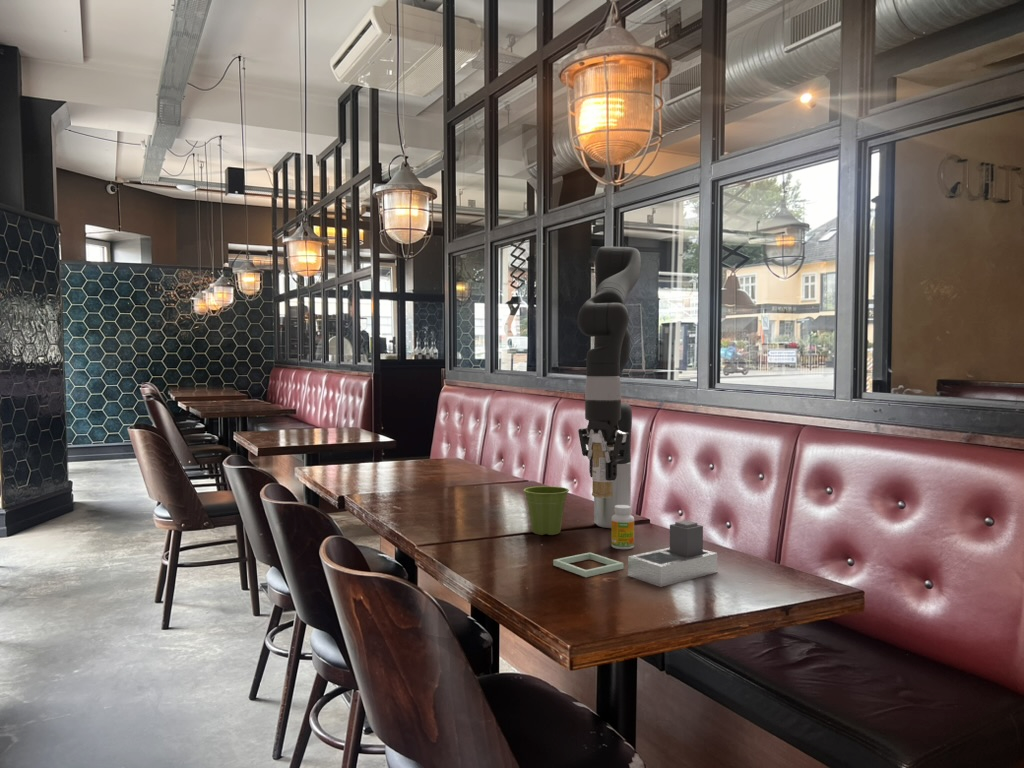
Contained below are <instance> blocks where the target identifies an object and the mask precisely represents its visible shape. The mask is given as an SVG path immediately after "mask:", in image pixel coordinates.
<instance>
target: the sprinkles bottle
mask: <svg viewBox="0 0 1024 768" xmlns="http://www.w3.org/2000/svg"><path fill="white" fill-rule="evenodd" d="M592 442H593V464H592V466H593V467H592V477H591V479H592V492H591V495H592V497H593V498H594V497H597V498H608V497H612V496H613V480H612V481H608V480H606V463H607V461H606V457H605V453H604V452H603V451H602V446H601V443H602V442H603V441H602V439H601V438H600V435H599V434H598V433H594V434H592ZM608 447H613V444H612V445H608ZM610 454H611V456H612V451H610Z"/></svg>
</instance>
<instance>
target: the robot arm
mask: <svg viewBox="0 0 1024 768" xmlns="http://www.w3.org/2000/svg"><path fill="white" fill-rule="evenodd" d="M641 262H642V258H641V253H640V251H639V249H637V248H635V247H631V246H630V247H629V246H600V247H599V248H598V249H597V251H596V253H595V260H594V276H595V277H594V281H595V285H594V286H595V292H594V295H592V296H591V297H590V298H589V299H587V300H586V301H585V302H584V303H583V305H582V306H581V307H580V309H579V311H578V313H577V320H576V321H577V328H578V329H579V331H580V332H581V334H583V335H584V336H587V337H590V338H591V337H592V338H594V339H593V340H594V342H593V348H591V349H588V350H587V353H586V357H585V360H586V361H585V362H586V364H585V365H586V366H585V367H586V370H585V371H586V374H585V375H586V378H585V385H584V386H585V387H584V389H585V390H584V418H585V421H588V424H587V426H586V427H585V428H584V427H583V428H579V429H578V430H577V431H578V438H579V443H580V447H581V455H582V456H583V457H586V458H587V459H588V461H589V466H588V467H589V476H590V478H592V467H593V466H592V464H593V442H592V434H594V433H598V434H599V435H600V438H601V439H602V441H603V442H602V443H601V446H602V451H603V452H604V453H605V457H606V461H607V463H606V480H608V481H612V480H613V496H612V497H608V498H597V497H594V496H593V524H596V526H598V527H601V528H606V529H611V521H612V516H613V515H614V514H615V512H614V507H615V506H616V505H628V506H631V505H632V504H631V503H632V502H631V501H632V498H631V497H632V492H631V491H632V489H631V488H632V487H631V486H632V485H631V484H632V481H631V480H632V478H631V477H632V474H631V473H632V470H631V469H632V461H631V459H632V458H631V457H632V456H631V454H632V452H631V451H632V450H631V449H632V447H631V446H632V425H633V412H632V408H631V405H630V404H629V403H627V402H622V384H621V377H620V375H621V373H622V372H623V370H624V369H625V368H626V366H627V364H628V362H629V360H630V353H631V333H630V329H629V328H628V326H629V325H628V324H629V321H630V316H629V315H630V314H629V311H628V309H627V307H626V306H625V304H626V300H627V297H628V295H629V294H630V292H631V291H632V290H633V288H634V287H635V285H636V284H637V283H638V280H639V278H640V275H641V264H642V263H641ZM612 444H613V447H608V445H612ZM610 451H612V456H611V454H610ZM631 507H632V506H631ZM630 515H632V512H631V513H630Z"/></svg>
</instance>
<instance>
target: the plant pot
mask: <svg viewBox="0 0 1024 768" xmlns="http://www.w3.org/2000/svg"><path fill="white" fill-rule="evenodd" d="M523 492H524V493H525V497H526V498H525V499H526V500H527V504H528V512H529V517H530V519H529V520H530V523H531V524H530V525H531V531H532V533H534V534H535V535H539V536H544V535H548V536H554V535H558V534H560V533H561V530H562V522H563V517H564V516H563V515H564V508H565V503H566V500H567V496H568V495H567V494H568V493H569V492H570V489H569V488H567V487H561V486H550V485H548V486H547V485H546V486H545V485H543V486H539V485H538V486H530V487H526V488H524V489H523Z"/></svg>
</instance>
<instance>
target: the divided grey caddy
mask: <svg viewBox="0 0 1024 768" xmlns="http://www.w3.org/2000/svg"><path fill="white" fill-rule="evenodd" d="M716 573H718V552H714V551H711V550H706V549H703V554H702V555H698V556H694V557H689V558H687V557H683V556H680V555H676V554H673V553H670V546H669V547H667V548H661V549H657V550H651V551H646V552H642V553H638V554H633V555H628V556H627V576H628V577H631V578H633V579H636V580H639V581H642V582H646V583H648V584H651V585H653V586H657V587H660V588H662V587H663V588H664V587H666V586H670V585H674V584H678V583H682V582H685V581H689V580H690V581H691V580H693V579H697V578H701V577H704V576H710V575H712V574H716Z"/></svg>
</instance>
